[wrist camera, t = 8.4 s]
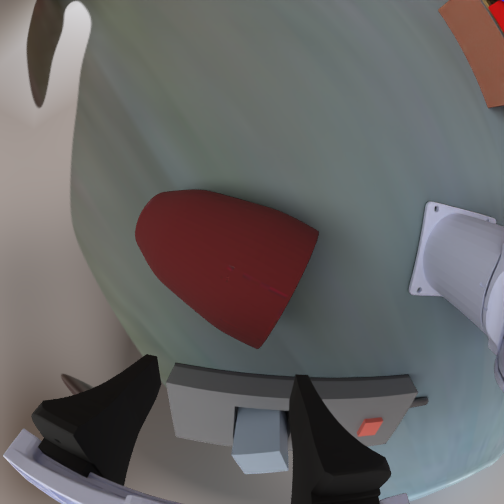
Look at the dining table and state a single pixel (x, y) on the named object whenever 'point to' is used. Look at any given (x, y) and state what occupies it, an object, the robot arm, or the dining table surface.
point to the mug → (226, 258)
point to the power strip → (284, 402)
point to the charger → (261, 440)
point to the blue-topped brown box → (480, 42)
